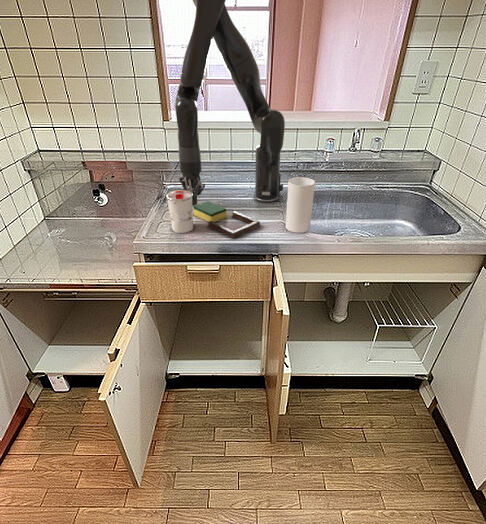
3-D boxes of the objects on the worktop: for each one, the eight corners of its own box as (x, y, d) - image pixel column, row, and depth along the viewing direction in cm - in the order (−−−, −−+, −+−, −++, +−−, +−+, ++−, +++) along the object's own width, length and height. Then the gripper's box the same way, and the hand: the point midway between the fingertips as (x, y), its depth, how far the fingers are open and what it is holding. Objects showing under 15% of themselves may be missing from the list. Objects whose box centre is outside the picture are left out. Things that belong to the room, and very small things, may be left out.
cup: (309, 233, 115) (315, 186, 107) (284, 231, 117) (287, 185, 108) (310, 222, 122) (315, 177, 114) (286, 221, 124) (289, 176, 115)
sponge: (208, 209, 133) (208, 200, 131) (226, 217, 127) (226, 208, 125) (194, 214, 129) (193, 206, 127) (211, 223, 123) (211, 214, 121)
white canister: (190, 236, 115) (186, 201, 108) (165, 233, 116) (161, 199, 110) (199, 223, 123) (196, 190, 117) (176, 221, 124) (172, 188, 118)
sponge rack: (235, 216, 127) (234, 211, 126) (259, 226, 120) (259, 221, 119) (208, 227, 120) (208, 221, 119) (233, 239, 113) (233, 233, 112)
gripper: (210, 160, 122) (212, 206, 131) (187, 152, 130) (190, 197, 139) (193, 164, 117) (196, 212, 127) (170, 156, 126) (175, 202, 135)
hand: (193, 204), depth 133 cm, fingers closed
